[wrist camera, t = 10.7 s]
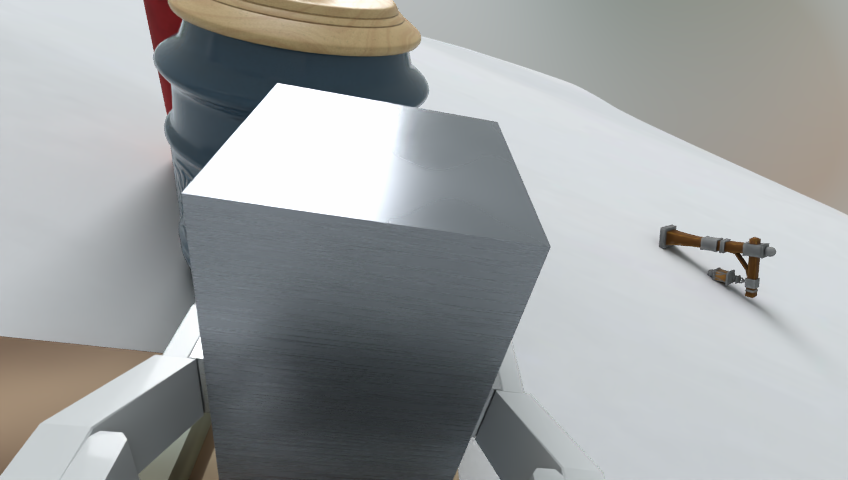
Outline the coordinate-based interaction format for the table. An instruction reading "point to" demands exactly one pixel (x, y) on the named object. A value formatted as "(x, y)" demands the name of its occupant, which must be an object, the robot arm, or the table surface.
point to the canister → (275, 66)
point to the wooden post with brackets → (750, 248)
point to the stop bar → (356, 285)
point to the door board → (71, 381)
